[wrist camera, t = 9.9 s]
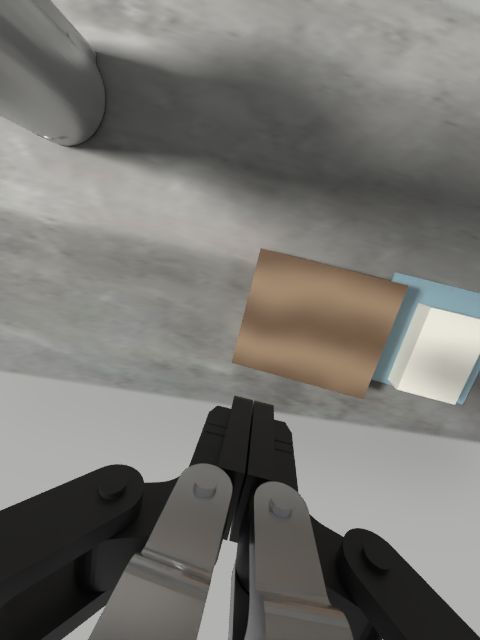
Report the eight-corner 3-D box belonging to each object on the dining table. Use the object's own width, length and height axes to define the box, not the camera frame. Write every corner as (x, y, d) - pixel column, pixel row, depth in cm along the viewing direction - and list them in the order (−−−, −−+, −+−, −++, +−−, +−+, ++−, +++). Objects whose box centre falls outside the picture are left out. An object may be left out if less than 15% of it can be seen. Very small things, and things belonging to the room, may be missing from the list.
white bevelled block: (494, 322, 27) (476, 317, 29) (431, 307, 27) (418, 303, 30) (455, 404, 29) (441, 393, 31) (396, 389, 29) (387, 379, 32)
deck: (262, 249, 31) (260, 248, 27) (391, 281, 30) (408, 285, 26) (236, 350, 34) (231, 362, 30) (352, 382, 33) (363, 399, 29)
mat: (394, 272, 29) (395, 272, 29) (511, 301, 29) (514, 302, 28) (355, 374, 32) (356, 375, 32) (461, 403, 32) (462, 404, 31)
